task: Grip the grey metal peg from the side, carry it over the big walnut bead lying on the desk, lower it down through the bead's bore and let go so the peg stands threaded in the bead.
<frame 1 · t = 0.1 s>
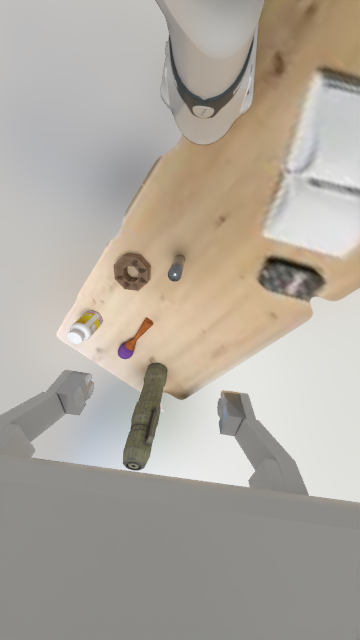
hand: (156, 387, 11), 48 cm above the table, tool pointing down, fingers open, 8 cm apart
bead: (134, 270, 56), on the table
grey metal peg: (180, 260, 53), on the table
supplement bottle: (94, 317, 67), on the table
thermos: (157, 369, 78), on the table
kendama: (136, 335, 70), on the table
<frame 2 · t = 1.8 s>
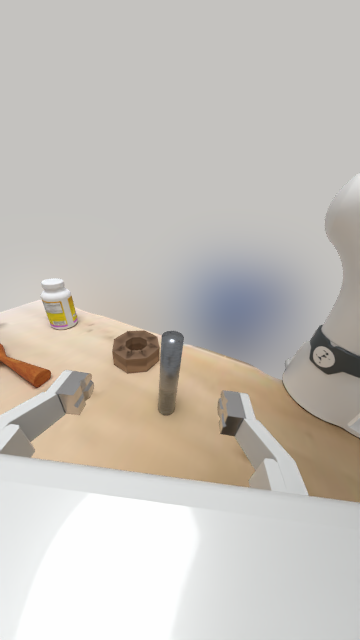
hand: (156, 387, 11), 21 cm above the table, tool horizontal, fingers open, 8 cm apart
bead: (136, 356, 43), on the table
grey metal peg: (166, 407, 32), on the table
supplement bottle: (65, 324, 51), on the table
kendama: (9, 368, 37), on the table
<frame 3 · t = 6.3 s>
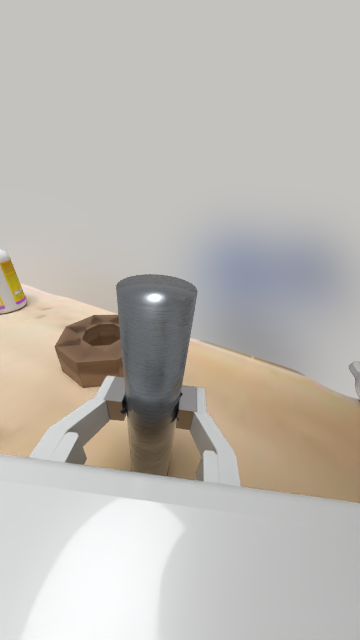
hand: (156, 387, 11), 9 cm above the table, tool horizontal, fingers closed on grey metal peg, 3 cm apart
bead: (107, 356, 25), on the table
grey metal peg: (150, 466, 15), on the table, touching gripper
supplement bottle: (5, 307, 34), on the table
when the fingers open (11 cm above the table, at t = 11.9 s): grey metal peg drops 2 cm, resting in bead.
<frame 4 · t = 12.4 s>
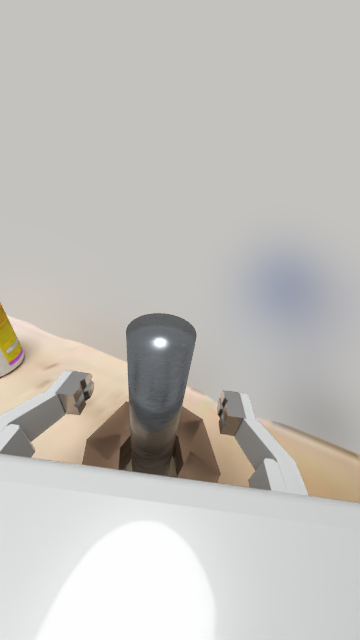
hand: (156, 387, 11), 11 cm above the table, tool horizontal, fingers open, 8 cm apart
bead: (150, 476, 16), on the table
grey metal peg: (149, 476, 16), resting in bead
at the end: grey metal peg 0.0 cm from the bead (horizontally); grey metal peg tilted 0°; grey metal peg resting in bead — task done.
